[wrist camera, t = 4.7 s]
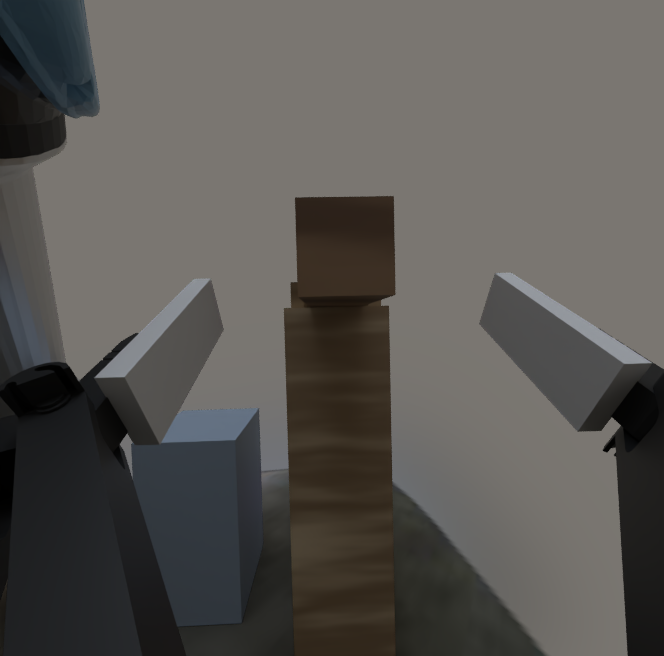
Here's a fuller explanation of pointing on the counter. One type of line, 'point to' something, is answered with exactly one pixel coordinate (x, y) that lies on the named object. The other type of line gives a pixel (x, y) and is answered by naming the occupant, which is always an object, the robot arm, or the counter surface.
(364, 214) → the walnut bar
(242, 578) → the blue step
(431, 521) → the counter surface
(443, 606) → the counter surface
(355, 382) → the oak post
